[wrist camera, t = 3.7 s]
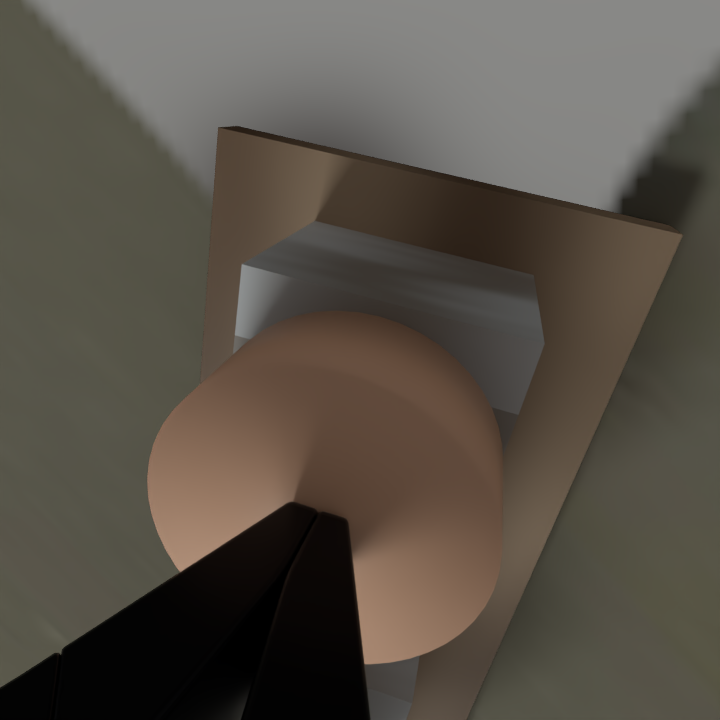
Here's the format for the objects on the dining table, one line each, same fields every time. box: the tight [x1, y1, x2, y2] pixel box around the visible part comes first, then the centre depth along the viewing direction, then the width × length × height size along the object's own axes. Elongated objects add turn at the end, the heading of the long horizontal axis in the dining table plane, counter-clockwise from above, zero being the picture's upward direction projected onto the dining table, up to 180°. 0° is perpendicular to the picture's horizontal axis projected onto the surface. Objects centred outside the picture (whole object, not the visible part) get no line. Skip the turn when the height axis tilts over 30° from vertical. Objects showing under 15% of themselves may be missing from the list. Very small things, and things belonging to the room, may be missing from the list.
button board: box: [200, 126, 683, 720], centre depth 16 cm, size 10×26×5 cm, turn 170°
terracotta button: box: [147, 311, 503, 664], centre depth 10 cm, size 5×5×6 cm
